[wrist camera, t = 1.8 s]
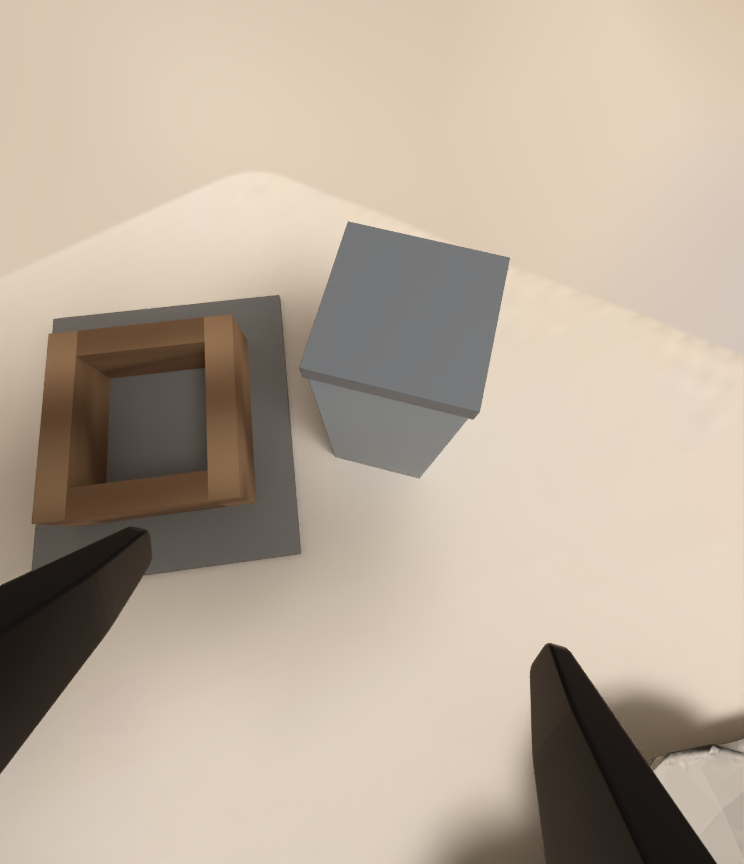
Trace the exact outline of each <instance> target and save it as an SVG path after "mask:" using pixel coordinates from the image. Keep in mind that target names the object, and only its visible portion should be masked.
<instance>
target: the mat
mask: <svg viewBox="0 0 744 864" xmlns="http://www.w3.org/2000/svg"><path fill="white" fill-rule="evenodd" d="M229 314H232V315H233V317H234V319H235V321H236V322H237V324H238V326H239V327H240V329H241V331H242V333H243V334H244V336H245V338H246V339H247V343H248V361H249V379H250V397H251V415H252V433H253V451H254V469H255V487H256V503H253V504H245V505H238V506H230V507H222V508H215V509H207V510H199V511H192V512H184V513H176V514H169V515H161V516H153V517H146V518H138V519H130V520H123V521H115V522H107V523H100V524H92V525H84V526H77V527H75V526H58V525H41V524H36V527H35V538H34V550H33V561H32V571H33V570H35V569H37V568H39V567H41V566H44V565H46V564H48V563H50V562H52V561H54V560H57V559H59V558H61V557H63V556H65V555H67V554H70V553H72V552H74V551H76V550H78V549H81V548H83V547H85V546H87V545H89V544H91V543H94V542H96V541H98V540H100V539H102V538H104V537H107V536H109V535H111V534H113V533H115V532H117V531H120V530H122V529H124V528H126V527H130V526H134V527H138V528H142V529H145V530H148V531H149V533H150V537H151V547H152V560H151V563H150V565H149V567H148V569H147V570H146V572H145V574H144V575H150V574H157V573H165V572H172V571H179V570H186V569H194V568H201V567H208V566H216V565H223V564H230V563H237V562H245V561H252V560H259V559H266V558H274V557H281V556H288V555H296V554H301V547H300V535H299V523H298V511H297V499H296V486H295V474H294V462H293V450H292V438H291V425H290V413H289V401H288V389H287V377H286V364H285V352H284V340H283V328H282V316H281V303H280V297H279V295H275V296H266V297H256V298H247V299H237V300H228V301H219V302H209V303H200V304H190V305H181V306H171V307H162V308H152V309H143V310H134V311H124V312H115V313H105V314H96V315H86V316H77V317H67V318H58V319H54V320H53V332H52V333H62V332H71V331H80V330H90V329H99V328H108V327H117V326H127V325H136V324H145V323H155V322H164V321H173V320H182V319H192V318H201V317H210V316H220V315H229ZM206 470H208V461H207V420H206V379H205V368H200V369H191V370H182V371H174V372H165V373H156V374H147V375H138V376H130V377H121V378H112V379H111V383H110V406H109V429H108V452H107V476H106V483H111V482H119V481H127V480H135V479H143V478H151V477H159V476H167V475H174V474H182V473H190V472H198V471H206Z"/></svg>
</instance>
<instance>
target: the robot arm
mask: <svg viewBox="0 0 744 864" xmlns="http://www.w3.org/2000/svg"><path fill="white" fill-rule="evenodd" d="M151 560H152V547H151V537H150V533H149V531H148V530H145V529H142V528H138V527H134V526H130V527H126V528H124V529H122V530H120V531H117V532H115V533H113V534H111V535H109V536H107V537H104V538H102V539H100V540H98V541H96V542H94V543H91V544H89V545H87V546H85V547H83V548H81V549H78V550H76V551H74V552H72V553H70V554H67V555H65V556H63V557H61V558H59V559H57V560H54V561H52V562H50V563H48V564H46V565H44V566H41V567H39V568H37V569H35V570H33V571H31V572H28V573H26V574H24V575H22V576H20V577H17V578H15V579H13V580H11V581H9V582H7V583H4V584H2V585H0V774H1V772H2V771H3V770H4V768H5V767H6V766H7V764H8V763H9V762H10V761H11V759H12V758H13V757H14V755H15V754H16V753H17V751H18V750H19V749H20V747H21V746H22V745H23V743H24V742H25V741H26V739H27V738H28V737H29V735H30V734H31V733H32V732H33V730H34V729H35V728H36V726H37V725H38V724H39V722H40V721H41V720H42V718H43V717H44V716H45V714H46V713H47V712H48V710H49V709H50V708H51V706H52V705H53V704H54V703H55V701H56V700H57V699H58V697H59V696H60V695H61V693H62V692H63V691H64V689H65V688H66V687H67V685H68V684H69V683H70V681H71V680H72V679H73V677H74V676H75V675H76V674H77V672H78V671H79V670H80V668H81V667H82V666H83V664H84V663H85V662H86V660H87V659H88V658H89V656H90V655H91V654H92V652H93V651H94V650H95V648H96V647H97V646H98V645H99V643H100V642H101V641H102V639H103V638H104V636H105V635H106V634H107V632H108V631H109V630H110V628H111V627H112V625H113V623H114V622H115V620H116V619H117V617H118V616H119V614H120V612H121V611H122V609H123V608H124V606H125V604H126V603H127V601H128V599H129V598H130V596H131V595H132V593H133V591H134V590H135V588H136V587H137V585H138V583H139V582H140V580H141V578H142V577H143V575H144V574H145V572H146V570H147V569H148V567H149V565H150V563H151ZM530 696H531V732H532V755H533V765H534V774H535V782H536V790H537V798H538V806H539V814H540V822H541V830H542V838H543V846H544V853H545V861H546V864H717V862H716V861H715V860H714V858H713V857H712V855H711V854H710V852H709V851H708V849H707V848H706V847H705V845H704V844H703V842H702V841H701V839H700V838H699V836H698V835H697V834H696V832H695V831H694V829H693V828H692V826H691V825H690V823H689V822H688V821H687V819H686V818H685V816H684V815H683V813H682V812H681V811H680V809H679V808H678V806H677V805H676V803H675V802H674V800H673V799H672V798H671V796H670V795H669V793H668V792H667V790H666V789H665V787H664V786H663V785H662V783H661V782H660V780H659V779H658V777H657V776H656V774H655V773H654V772H653V770H652V769H651V767H650V766H649V764H648V763H647V761H646V760H645V759H644V757H643V756H642V754H641V753H640V751H639V750H638V748H637V747H636V746H635V744H634V743H633V741H632V740H631V738H630V737H629V735H628V734H627V733H626V731H625V730H624V728H623V727H622V725H621V724H620V722H619V721H618V720H617V718H616V717H615V715H614V714H613V712H612V711H611V710H610V708H609V707H608V705H607V704H606V702H605V701H604V699H603V698H602V697H601V695H600V694H599V692H598V691H597V689H596V688H595V686H594V685H593V684H592V682H591V681H590V679H589V678H588V676H587V675H586V673H585V672H584V671H583V669H582V668H581V666H580V665H579V663H578V662H577V660H576V659H575V658H574V656H573V655H572V653H571V652H570V651H569V650H568V649H567V648H565V647H563V646H559V645H555V644H552V643H548V644H546V645H545V646H544V647H543V648H542V650H541V651H540V653H539V654H538V656H537V657H536V659H535V660H534V662H533V663H532V666H531V670H530Z"/></svg>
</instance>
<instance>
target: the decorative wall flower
mask: <svg viewBox="0 0 744 864" xmlns="http://www.w3.org/2000/svg"><path fill="white" fill-rule="evenodd" d="M651 769H652V770H653V772H654V773H655V774H656V776H657V777H658V779H659V780H660V782H661V783H662V785H663V786H664V787H665V789H666V790H667V792H668V793H669V795H670V796H671V798H672V799H673V800H674V802H675V803H676V805H677V806H678V808H679V809H680V811H681V812H682V813H683V815H684V816H685V818H686V819H687V821H688V822H689V823H690V825H691V826H692V828H693V829H694V831H695V832H696V834H697V835H698V836H699V838H700V839H701V841H702V842H703V844H704V845H705V847H706V848H707V849H708V851H709V852H710V854H711V855H712V857H713V858H714V860H715V861H716V862H717V864H744V738H743V739H741V740H739V741H735V742H731V743H726V744H721V745H714V744H712V745H706V746H701V747H696V748H692V749H687V750H682V751H677V752H672V753H669V754H667V755H663V756H658V757H657V758H656V759H655V761H654V762H653V764H652V765H651Z"/></svg>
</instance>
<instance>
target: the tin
mask: <svg viewBox="0 0 744 864" xmlns="http://www.w3.org/2000/svg"><path fill="white" fill-rule="evenodd" d="M509 260H510V258H509V257H504V256H500V255H495V254H490V253H486V252H482V251H477V250H473V249H468V248H464V247H460V246H455V245H451V244H446V243H442V242H437V241H433V240H428V239H424V238H419V237H415V236H411V235H406V234H402V233H397V232H393V231H388V230H384V229H379V228H375V227H370V226H366V225H361V224H357V223H353V222H348V223H347V226H346V229H345V232H344V235H343V238H342V241H341V244H340V247H339V250H338V253H337V256H336V259H335V262H334V265H333V268H332V271H331V274H330V277H329V280H328V283H327V286H326V289H325V292H324V295H323V298H322V301H321V304H320V307H319V310H318V313H317V316H316V319H315V322H314V325H313V328H312V331H311V334H310V337H309V340H308V343H307V346H306V349H305V352H304V355H303V358H302V361H301V364H300V367H299V368H300V371H301V374H302V376H303V378H307V379H309V382H310V385H311V388H312V391H313V394H314V396H315V399H316V402H317V405H318V408H319V411H320V414H321V416H322V419H323V422H324V425H325V428H326V431H327V434H328V437H329V439H330V442H331V445H332V448H333V451H334V454H335V457H338V458H342V459H346V460H349V461H353V462H357V463H361V464H365V465H369V466H373V467H377V468H381V469H385V470H388V471H392V472H396V473H400V474H404V475H408V476H412V477H416V478H420V477H421V476H422V475H423V473H424V472H425V471H426V470H427V468H428V467H429V466H430V465H431V463H432V462H433V461H434V460H435V459H436V457H437V456H438V455H439V454H440V452H441V451H442V450H443V449H444V448H445V446H446V445H447V444H448V443H449V441H450V440H451V439H452V438H453V436H454V435H455V434H456V433H457V432H458V430H459V429H460V428H461V427H462V425H463V424H464V423H465V422H466V421H467V419H468V418H469V419H474V418H475V417H476V416H477V415H478V413H479V412H480V408H481V403H482V398H483V393H484V388H485V383H486V378H487V372H488V367H489V362H490V357H491V352H492V347H493V342H494V337H495V331H496V326H497V321H498V316H499V311H500V306H501V301H502V296H503V290H504V285H505V280H506V275H507V270H508V265H509Z"/></svg>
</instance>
